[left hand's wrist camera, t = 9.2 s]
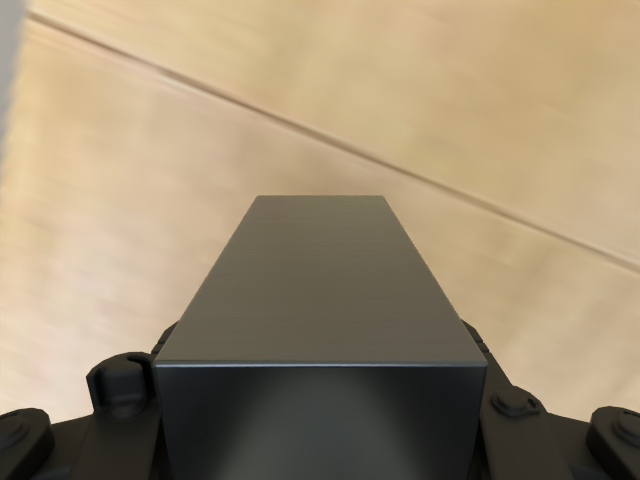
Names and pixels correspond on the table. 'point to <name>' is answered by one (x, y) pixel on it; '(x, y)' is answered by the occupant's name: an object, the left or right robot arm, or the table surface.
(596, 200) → the table surface
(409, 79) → the table surface
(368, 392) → the bar
